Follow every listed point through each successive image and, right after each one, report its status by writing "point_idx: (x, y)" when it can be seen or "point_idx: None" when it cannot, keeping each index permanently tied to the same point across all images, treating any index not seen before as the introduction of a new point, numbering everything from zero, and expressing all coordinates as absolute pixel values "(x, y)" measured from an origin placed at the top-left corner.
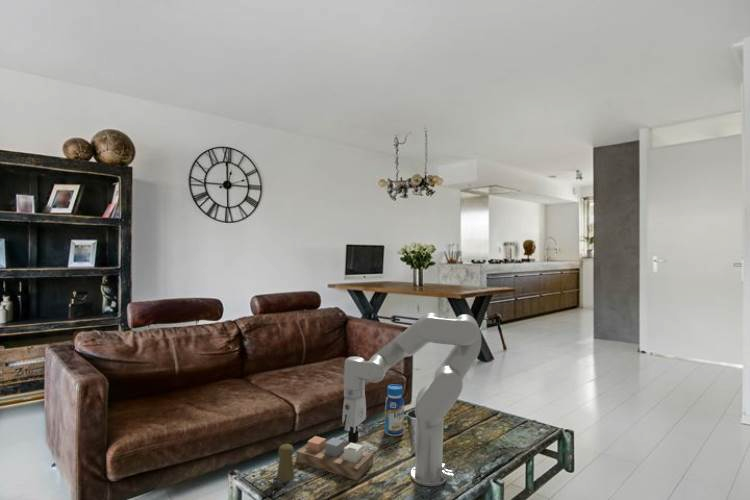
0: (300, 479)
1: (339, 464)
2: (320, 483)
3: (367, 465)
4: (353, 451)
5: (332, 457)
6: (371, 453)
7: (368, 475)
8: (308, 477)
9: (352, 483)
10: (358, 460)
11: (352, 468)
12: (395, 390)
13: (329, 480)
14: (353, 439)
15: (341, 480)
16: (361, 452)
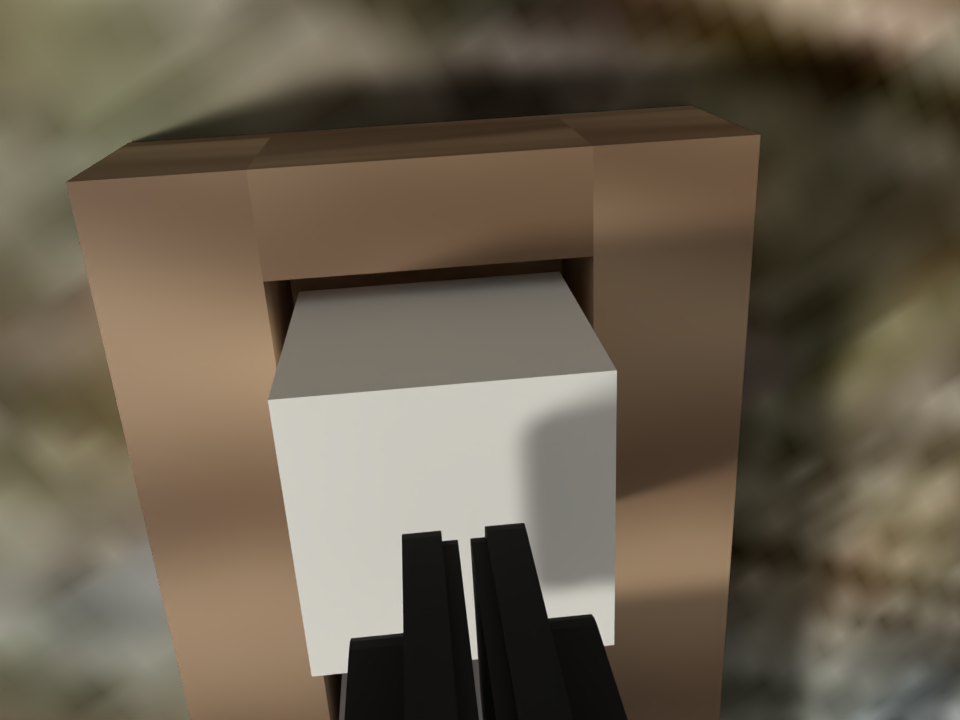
0: (952, 686)
1: (733, 480)
2: (950, 476)
3: (337, 141)
4: (614, 428)
5: (615, 668)
6: (80, 218)
7: (472, 21)
8: (884, 650)
9: (792, 123)
10: (466, 291)
11: (744, 237)
12: None
13: (849, 429)
14: (577, 638)
15: (786, 302)
16: (343, 339)
